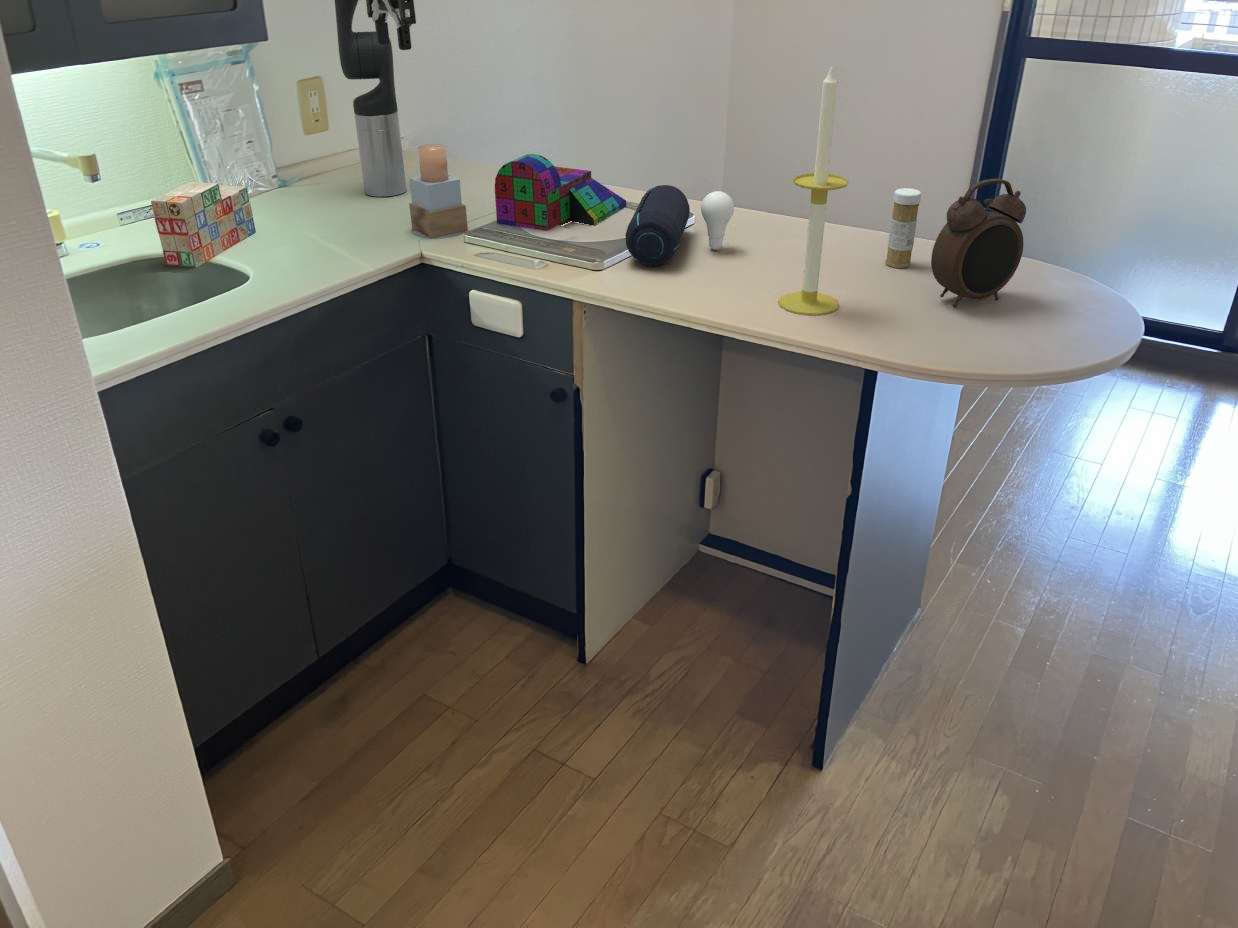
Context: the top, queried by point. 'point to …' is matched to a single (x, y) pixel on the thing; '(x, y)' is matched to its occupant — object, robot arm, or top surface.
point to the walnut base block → (439, 220)
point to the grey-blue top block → (435, 193)
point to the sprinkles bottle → (903, 227)
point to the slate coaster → (437, 237)
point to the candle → (817, 212)
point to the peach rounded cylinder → (433, 163)
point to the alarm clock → (979, 244)
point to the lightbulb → (717, 216)
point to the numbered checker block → (550, 195)
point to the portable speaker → (658, 225)
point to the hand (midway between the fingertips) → (394, 47)
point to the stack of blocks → (201, 221)
